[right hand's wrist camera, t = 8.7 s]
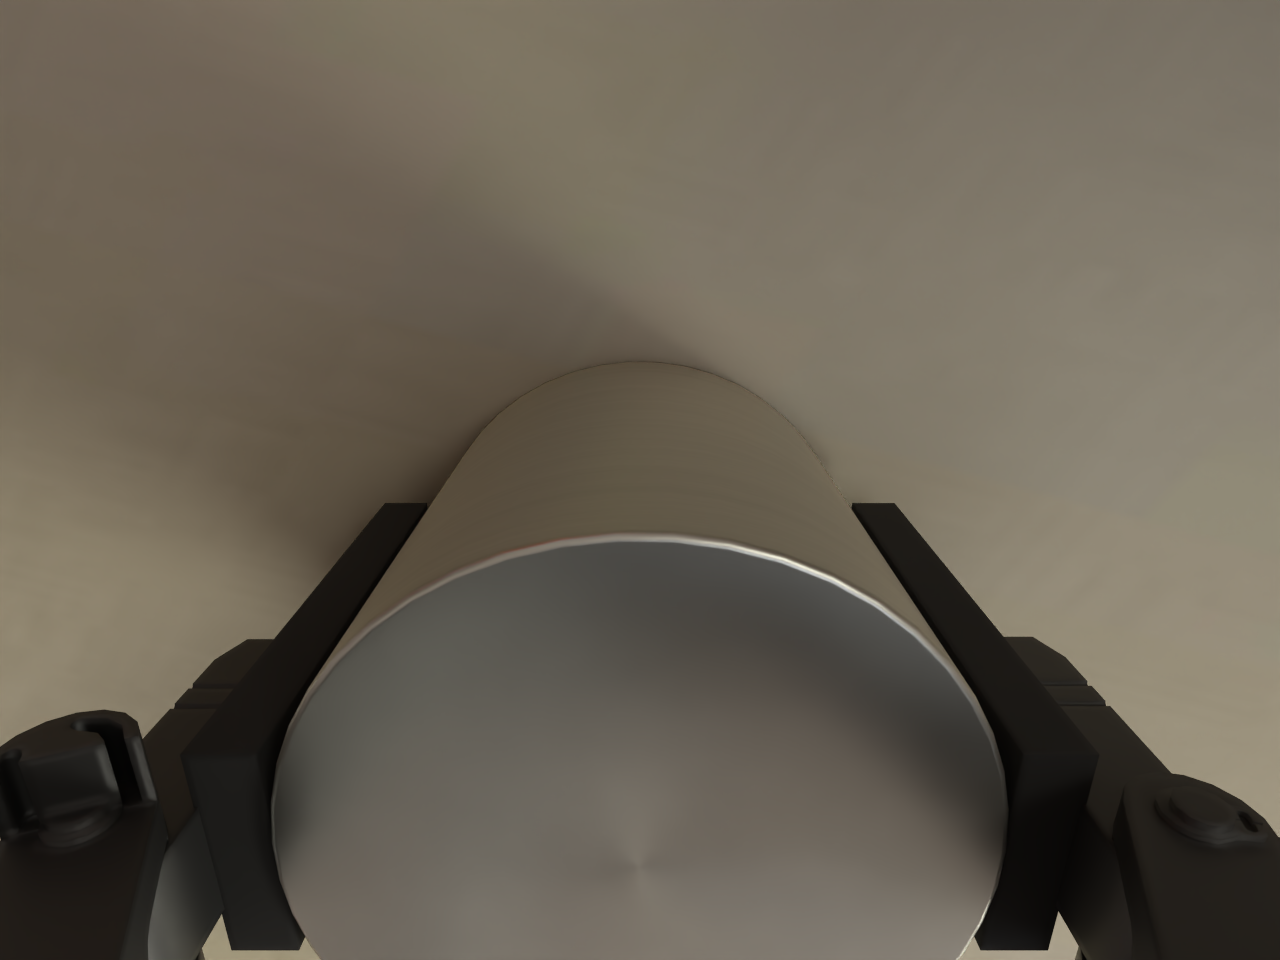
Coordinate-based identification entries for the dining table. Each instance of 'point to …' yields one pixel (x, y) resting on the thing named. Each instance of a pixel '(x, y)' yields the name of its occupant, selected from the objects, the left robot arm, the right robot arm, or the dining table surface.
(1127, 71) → the dining table surface
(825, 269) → the dining table surface
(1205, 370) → the dining table surface
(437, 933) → the canister
